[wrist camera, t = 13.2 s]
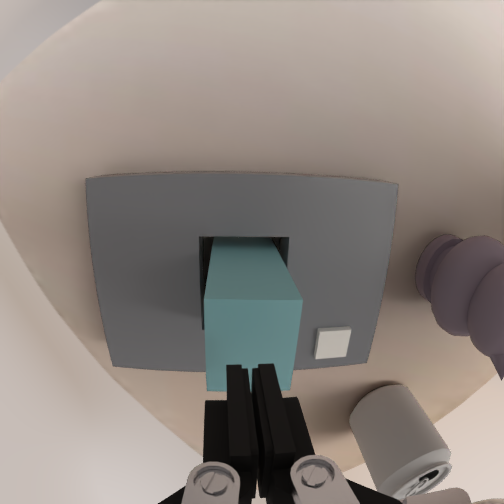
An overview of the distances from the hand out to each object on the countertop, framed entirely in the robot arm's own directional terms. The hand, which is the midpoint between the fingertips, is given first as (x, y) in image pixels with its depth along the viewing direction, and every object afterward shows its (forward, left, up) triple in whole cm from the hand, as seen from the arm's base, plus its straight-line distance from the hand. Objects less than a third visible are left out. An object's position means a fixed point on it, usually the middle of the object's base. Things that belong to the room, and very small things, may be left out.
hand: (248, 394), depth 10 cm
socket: (0, 0, -13) cm, 13 cm away
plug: (0, 0, -13) cm, 13 cm away
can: (-15, +16, -13) cm, 26 cm away
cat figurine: (-18, 0, -13) cm, 22 cm away
